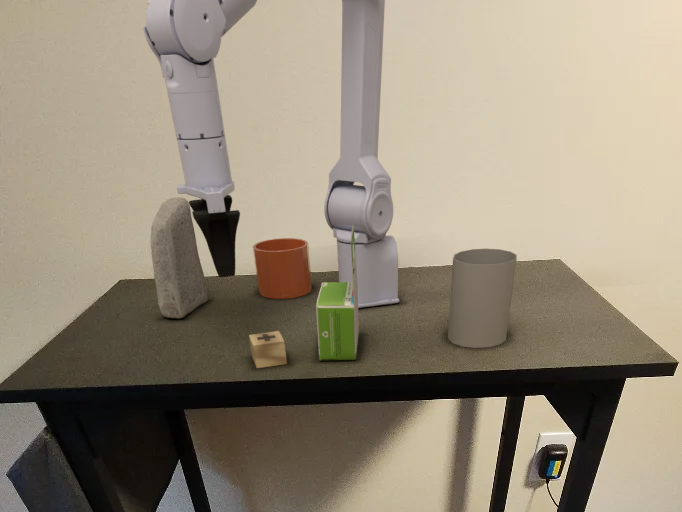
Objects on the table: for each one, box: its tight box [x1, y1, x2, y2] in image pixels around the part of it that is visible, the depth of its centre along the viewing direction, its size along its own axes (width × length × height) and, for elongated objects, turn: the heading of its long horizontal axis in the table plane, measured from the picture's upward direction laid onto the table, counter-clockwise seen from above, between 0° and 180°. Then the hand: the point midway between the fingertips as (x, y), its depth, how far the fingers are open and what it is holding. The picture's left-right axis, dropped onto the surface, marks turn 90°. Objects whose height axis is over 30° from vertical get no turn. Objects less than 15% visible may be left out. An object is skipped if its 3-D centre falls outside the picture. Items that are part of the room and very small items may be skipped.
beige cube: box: [248, 330, 288, 369], centre depth 80 cm, size 4×4×3 cm
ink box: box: [315, 224, 360, 362], centre depth 79 cm, size 10×5×14 cm, turn 178°
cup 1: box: [252, 237, 313, 300], centre depth 102 cm, size 9×9×7 cm
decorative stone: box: [150, 196, 209, 319], centre depth 94 cm, size 11×6×15 cm, turn 168°
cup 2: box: [447, 248, 518, 349], centre depth 81 cm, size 8×8×10 cm
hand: (224, 268), depth 79 cm, fingers open, 7 cm apart
